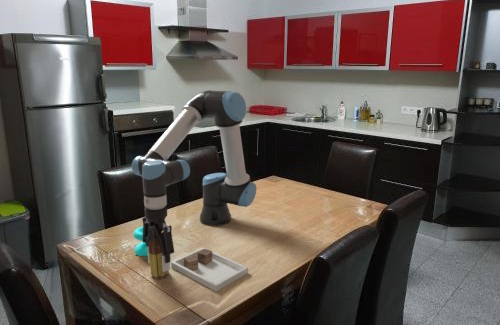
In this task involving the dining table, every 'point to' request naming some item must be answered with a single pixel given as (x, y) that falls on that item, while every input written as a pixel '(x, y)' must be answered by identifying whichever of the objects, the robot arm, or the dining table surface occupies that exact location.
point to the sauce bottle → (156, 256)
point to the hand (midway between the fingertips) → (159, 265)
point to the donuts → (141, 247)
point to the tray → (212, 271)
